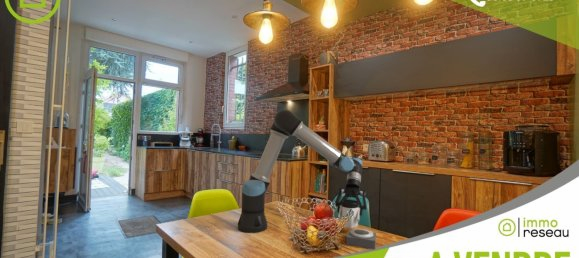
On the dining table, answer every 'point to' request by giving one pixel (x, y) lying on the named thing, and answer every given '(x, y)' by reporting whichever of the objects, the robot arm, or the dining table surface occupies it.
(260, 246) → the dining table surface
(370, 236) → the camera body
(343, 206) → the jar
